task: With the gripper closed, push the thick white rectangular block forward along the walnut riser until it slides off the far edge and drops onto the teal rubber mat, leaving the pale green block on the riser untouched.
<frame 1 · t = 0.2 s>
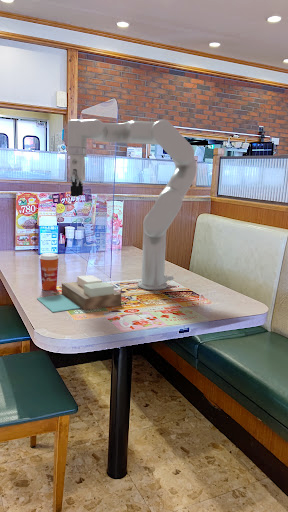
hand: (76, 195, 164), 37 cm above the table, tool pointing down, fingers open, 9 cm apart
pale green block: (98, 293, 144), point 4 cm above the table, touching riser
mat: (58, 303, 143), on the table
paper cup: (49, 289, 161), on the table
white rectangular block: (89, 286, 152), point 4 cm above the table, touching riser
riser: (90, 298, 150), on the table
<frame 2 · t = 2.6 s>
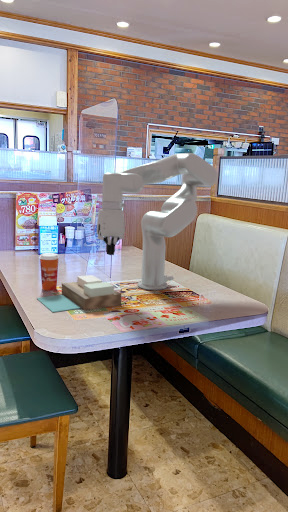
hand: (110, 254, 155), 16 cm above the table, tool pointing down, fingers closed
nothing on the table moved.
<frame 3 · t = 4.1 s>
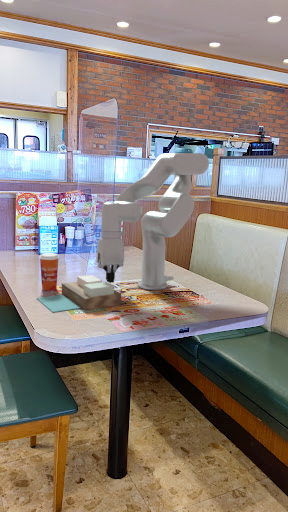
hand: (110, 281, 157), 5 cm above the table, tool pointing down, fingers closed
nothing on the table moved.
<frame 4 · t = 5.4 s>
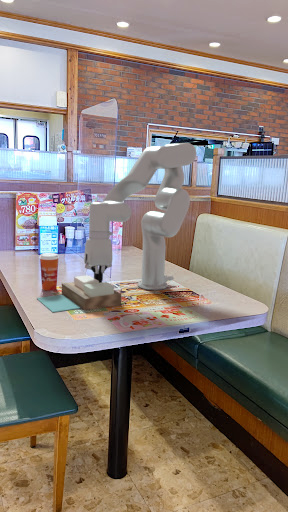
hand: (98, 282, 154), 5 cm above the table, tool pointing down, fingers closed
white rectangular block: (86, 286, 152), point 4 cm above the table, touching gripper, riser
everything else where it was.
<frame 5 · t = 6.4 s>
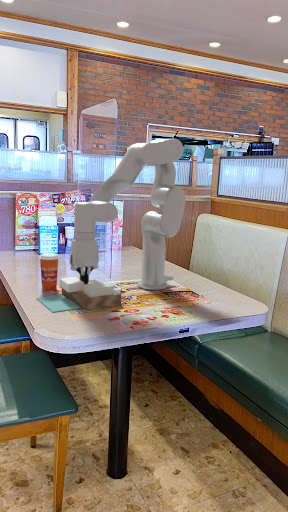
hand: (84, 284, 151), 5 cm above the table, tool pointing down, fingers closed
white rectangular block: (71, 288, 149), point 4 cm above the table, touching gripper
everything else where it was.
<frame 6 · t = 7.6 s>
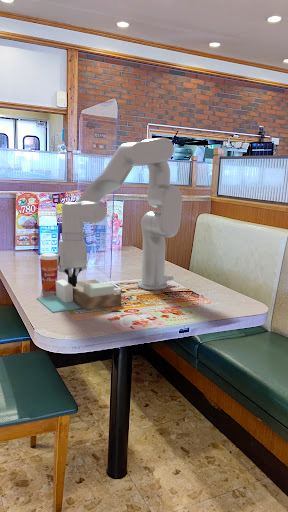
hand: (72, 286, 149), 5 cm above the table, tool pointing down, fingers closed
white rectangular block: (68, 290, 148), point 3 cm above the table, tilted 93°, touching gripper, mat
everything else where it was.
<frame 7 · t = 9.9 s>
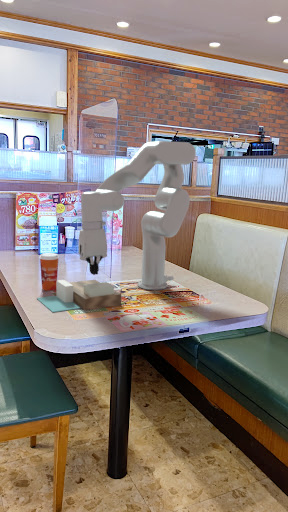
hand: (94, 273, 153), 9 cm above the table, tool pointing down, fingers closed
white rectangular block: (68, 290, 148), point 3 cm above the table, tilted 90°, touching mat
everything else where it was.
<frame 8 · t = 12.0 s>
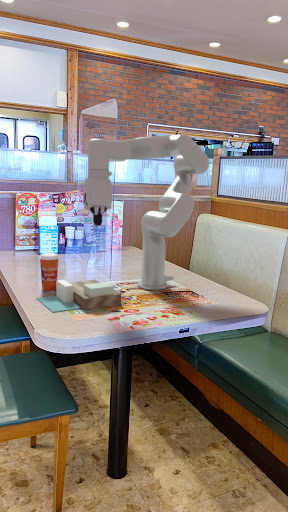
hand: (97, 225, 149), 27 cm above the table, tool pointing down, fingers closed
nothing on the table moved.
at the end: white rectangular block point 3.3 cm above the table; white rectangular block inside the target area on the mat (6.3 cm from its centre), point 3.3 cm above the mat's base; pale green block moved 0.0 cm from its start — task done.
